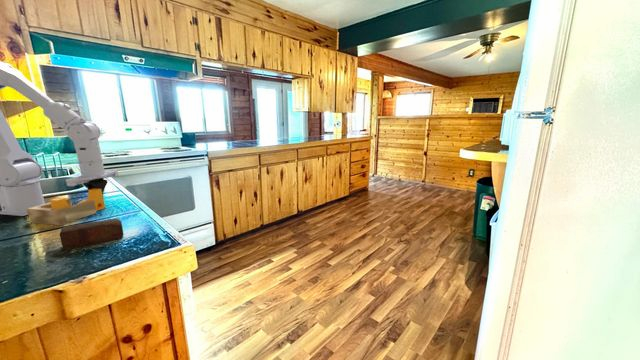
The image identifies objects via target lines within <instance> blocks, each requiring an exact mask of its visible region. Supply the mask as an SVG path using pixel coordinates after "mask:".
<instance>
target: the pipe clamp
mask: <svg viewBox="0 0 640 360" xmlns="http://www.w3.org/2000/svg"><path fill="white" fill-rule="evenodd" d="M87 190H88V189H87ZM103 198H104V193H103V194H102V190H101V189H96V188H94V189H90V190H88V194H87V198H86V199H83V200H80V201H79V202H78V203H77V204H79V203H82V202H85V201H89V200H94V203H95V207H96V212H99V211H100V210H104V209H106V204H105V201H104V200H105V199H103ZM49 203H50V204H51V207H52V209H61V208H65V207H68V206H70V205H69V204H68V203H67V201H66V198H64V197H57V198H53V199H52V198H51V199H49Z"/></svg>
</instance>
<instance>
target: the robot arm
mask: <svg viewBox="0 0 640 360" xmlns="http://www.w3.org/2000/svg"><path fill="white" fill-rule="evenodd" d="M6 87H7V88H12V89H13V90H15V91H16V92H17V93H19V94H20V95H22V96H24V97H25V98H27V99H28V100H30V101H31V102H32V103H34V104H36V105H37V106H38V107H39V108H41V109H42V110H43V115H44V116H45V117H46V118H47V119H49V120H51V121H52V122H53V123H54V124H56V125H57V126H58V127H60V128H61V129H62V130H64V131H66V135H67V136H68V138H69V139H70V140H71V141H72V142H73V145H74V149H75V153H76V158H77V160H78V167H79V171H80V175H79V176H78V175H77V176H75V177H71V178H67V179H65V183H66V186H67V187H75V186H78V185H83V187H85V188H86V189H87V190H90V189H94V188H96V189H101V190H102V194H103V195H104V192H105V188H106V186H107V184H108V180H107V179H108V178H111V177H112V178H113V177H119V174H118V170H116V169H115V170H113V169H112V170H105V167H104V162H103V158H102V152H101V146H100V142H99V141H100V140H99V138H100V137H101V134H102V133H101V129H100V127H98V125H97V124H95V122H90V121H87V119H86V118H85V117H82V116H80V115H79V114H78V113H76V112H75V111H74V110H73V109H72V106H71V105H70V104H66V103H63V102H60V101H54V100H53V99H52V98H50V97H49V96H48V95H47V94H46V93H45V92H43V91H42V90H41V89H40V88H38V87H37V86H36V85H35V84H33V82H31V81H30V80H29V79H28V78H26V77H25V76H24V75H23V73H22V71H19V70H18V69H16V68H15V67H14V66H12V65H11V64H9V63H7V62H6V61H2V60H0V91H1V90H3V89H5V88H6ZM43 171H44V170H43V166H42V165H41V164H40V163H39V162H38V161H36V160H35V159H34V157H33V155H32V154H31V153H28V152H27V151H25V150H23V149H22V147H21V145H20V143H19V141H18V139H17V138H16V136H15V134H14V132H13V130H12V128H11V127H10V124H9V122H8V121H7V119H6V117H5V115H4V113H3V111H2V110H1V108H0V209H1V211H0V215H5V216H6V215H8V216H17V217H18V216H19V217H23V216H27V215H28V212H27V208H31V207H35V206H39V205H43V204H46V202H45V198H44V195H43V191H42V187H41V183H40V177H41V176H42V175H43ZM103 199H104V197H103ZM104 200H105V199H104ZM28 216H29V215H28Z"/></svg>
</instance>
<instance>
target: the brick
mask: <svg viewBox="0 0 640 360" xmlns="http://www.w3.org/2000/svg"><path fill="white" fill-rule="evenodd" d="M123 229H124V228H123V223H122V221H121V220H120V219H118V218H108V219H104V220H99V221H93V222H86V223H79V224H77V223H76V224H73V225H67V226H65V227H61V229H60V232H59V238H60V243H61V246H62V248H63V251H70V250H77V249H80V248H85V247H89V246H96V245H99V244H104V243H107V242H113V241H118V240H121V239H122V237H123V235H124V230H123Z"/></svg>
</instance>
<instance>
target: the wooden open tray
mask: <svg viewBox="0 0 640 360" xmlns="http://www.w3.org/2000/svg"><path fill="white" fill-rule="evenodd" d="M65 199H66V201H67V203H68V204H69V205H70V206H68V207H65V208H61V209H52V207H51V204H50V202H47V203H45V204H43V205H39V206H35V207H31V208H27V212H28V218H29V221H30V223H34V224H43V225H44V224H46V225H56V226H63V225H65V224H69V223H71V222H74V221H76V220H80V219H82V218H86V217H89V216H91V215H94V214H98V213H97V212H98V211H96V207H95V203H94V200H89V201H85V202H82V203H79V202H78V203H79V204H78V203H76V204H72V201H71V198H67V197H66V198H65Z"/></svg>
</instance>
